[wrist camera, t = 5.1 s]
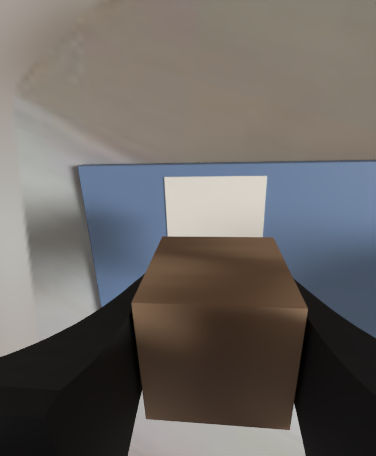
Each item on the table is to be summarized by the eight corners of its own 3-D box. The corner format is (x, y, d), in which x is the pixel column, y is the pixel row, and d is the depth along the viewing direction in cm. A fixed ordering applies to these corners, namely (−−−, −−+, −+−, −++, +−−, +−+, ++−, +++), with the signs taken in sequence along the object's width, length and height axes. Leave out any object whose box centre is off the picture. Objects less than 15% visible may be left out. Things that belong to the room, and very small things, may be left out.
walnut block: (168, 323, 13) (145, 419, 9) (162, 236, 11) (131, 302, 7) (265, 327, 13) (289, 430, 8) (273, 237, 11) (308, 308, 7)
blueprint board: (117, 379, 26) (114, 388, 25) (83, 164, 19) (77, 166, 18) (389, 397, 24) (395, 407, 23) (465, 158, 17) (478, 160, 16)
